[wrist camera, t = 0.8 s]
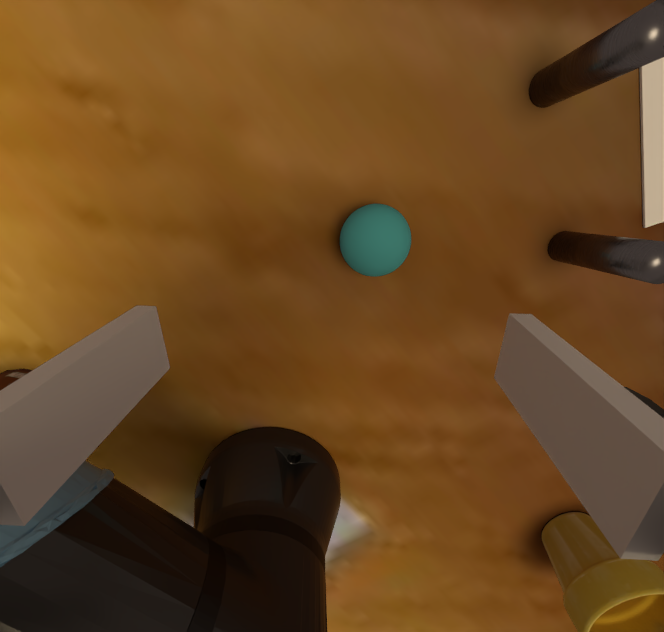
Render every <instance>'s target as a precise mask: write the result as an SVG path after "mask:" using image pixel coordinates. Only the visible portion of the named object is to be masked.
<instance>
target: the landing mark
mask: <svg viewBox="0 0 664 632" xmlns="http://www.w3.org/2000/svg"><path fill="white" fill-rule="evenodd" d="M639 73H640V116H641V159H642V202H643V228H646V227H649V226H652V225H655V224H658V223H661V222H664V57H663V58H661V59H658V60H656V61H654V62H651V63H649V64H647V65H644V66H642V67H640V68H639Z"/></svg>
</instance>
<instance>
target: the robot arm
mask: <svg viewBox="0 0 664 632" xmlns="http://www.w3.org/2000/svg"><path fill="white" fill-rule="evenodd" d="M169 369H170V365H169V360H168V356H167V352H166V347H165V343H164V339H163V334H162V330H161V326H160V321H159V317H158V313H157V308H156V306H135V307H134V308H132V309H130V310H129V311H127V312H126V313H124V314H122V315H121V316H119V317H118V318H116V319H114V320H113V321H111V322H109V323H108V324H106V325H105V326H103V327H101V328H100V329H98V330H97V331H95V332H93V333H92V334H90V335H89V336H87V337H85V338H84V339H82V340H81V341H79V342H77V343H76V344H74V345H73V346H71V347H69V348H68V349H66V350H65V351H63V352H61V353H60V354H58V355H57V356H55V357H53V358H52V359H50V360H49V361H47V362H45V363H44V364H42V365H41V366H39V367H37V368H36V369H34V370H33V371H31V372H29V373H28V374H26V375H24V376H23V377H21V378H20V379H18V380H16V381H15V382H13V383H11V384H10V385H8V386H7V387H5V388H3V389H2V390H0V632H327V614H326V582H325V555H326V551H327V548H328V545H329V541H330V538H331V535H332V531H333V528H334V525H335V521H336V518H337V515H338V511H339V507H340V499H341V494H340V479H339V473H338V469H337V467H336V464H335V462H334V460H333V459H332V457H331V456H330V454H329V453H328V452H327V451H326V450H325V449H324V448H323V447H322V446H321V445H320V444H318V443H317V442H316V441H314V440H312V439H311V438H309V437H307V436H305V435H303V434H300V433H298V432H294V431H291V430H287V429H280V428H258V429H252V430H247V431H244V432H241V433H238V434H236V435H234V436H232V437H230V438H228V439H226V440H225V441H223V442H222V443H221V444H220V445H218V446H217V447H216V448H215V449H214V450H213V451H212V453H211V454H210V455H209V457H208V459H207V460H206V463H205V465H204V467H203V469H202V472H201V474H200V476H199V479H198V482H197V486H196V490H195V506H194V528H193V527H191V526H190V525H188V524H187V523H185V522H183V521H182V520H180V519H179V518H177V517H175V516H174V515H172V514H171V513H169V512H167V511H166V510H164V509H163V508H161V507H159V506H158V505H156V504H155V503H153V502H151V501H150V500H148V499H147V498H145V497H143V496H142V495H140V494H139V493H137V492H136V491H134V490H132V489H131V488H129V487H128V486H126V485H124V484H123V483H121V482H120V481H118V480H116V479H115V478H113V477H114V473H113V472H112V471H111V470H109V469H99V468H98V467H96V466H94V465H92V464H90V463H88V462H87V461H85V460H86V459H87V458H88V457H89V455H90V454H91V453H92V452H93V451H94V450H95V449H96V448H97V447H98V446H99V445H100V444H101V442H102V441H103V440H104V439H105V438H106V437H107V436H108V435H109V434H110V433H111V432H112V431H113V429H114V428H115V427H116V426H117V425H118V424H119V423H120V422H121V421H122V420H123V419H124V418H125V416H126V415H127V414H128V413H129V412H130V411H131V410H132V409H133V408H134V407H135V406H136V404H137V403H138V402H139V401H140V400H141V399H142V398H143V397H144V396H145V395H146V394H147V393H148V391H149V390H150V389H151V388H152V387H153V386H154V385H155V384H156V383H157V382H158V381H159V380H160V378H161V377H162V376H163V375H164V374H165V373H166V372H167V371H168V370H169ZM494 378H495V380H496V381H497V383H498V384H499V386H500V387H501V388H502V390H503V391H504V393H505V394H506V396H507V397H508V398H509V400H510V401H511V403H512V404H513V406H514V407H515V408H516V410H517V411H518V413H519V414H520V416H521V417H522V418H523V420H524V421H525V423H526V424H527V426H528V427H529V428H530V430H531V431H532V433H533V434H534V436H535V437H536V439H537V440H538V441H539V443H540V444H541V446H542V447H543V449H544V450H545V451H546V453H547V454H548V456H549V457H550V459H551V460H552V461H553V463H554V464H555V466H556V467H557V469H558V470H559V471H560V473H561V474H562V476H563V477H564V479H565V480H566V481H567V483H568V484H569V486H570V487H571V489H572V490H573V491H574V493H575V494H576V496H577V497H578V499H579V500H580V502H581V503H582V504H583V506H584V507H585V509H586V510H587V512H588V513H589V514H590V516H591V517H592V519H593V520H594V522H595V523H596V524H597V526H598V527H599V529H600V530H601V532H602V533H603V534H604V536H605V537H606V539H607V540H608V542H609V543H610V544H611V546H612V547H613V549H614V550H615V552H616V553H617V555H618V556H619V557H620V559H638V560H656V561H658V560H659V559H660V557H661V556H662V554H663V553H664V410H663V409H662V408H661V407H659V406H658V405H657V404H655V403H654V402H653V401H652V400H650V399H648V398H647V397H645V396H643V395H641V394H639V393H637V392H635V391H633V390H631V389H629V388H627V387H623V386H622V385H621V384H619V383H618V382H617V381H615V380H614V379H613V378H612V377H610V376H609V375H608V374H607V373H605V372H604V371H603V370H601V369H600V368H599V367H598V366H596V365H595V364H594V363H593V362H591V361H590V360H589V359H587V358H586V357H585V356H584V355H582V354H581V353H580V352H579V351H577V350H576V349H575V348H573V347H572V346H571V345H570V344H568V343H567V342H566V341H565V340H563V339H562V338H561V337H559V336H558V335H557V334H556V333H554V332H553V331H552V330H551V329H549V328H548V327H547V326H545V325H544V324H543V323H542V322H540V321H539V320H538V319H537V318H535V317H534V316H533V315H532V314H509V317H508V321H507V325H506V330H505V334H504V338H503V342H502V346H501V351H500V355H499V359H498V363H497V368H496V372H495V376H494Z"/></svg>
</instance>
